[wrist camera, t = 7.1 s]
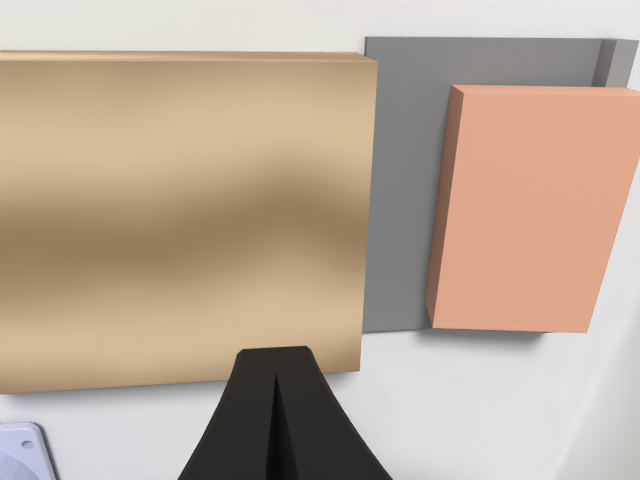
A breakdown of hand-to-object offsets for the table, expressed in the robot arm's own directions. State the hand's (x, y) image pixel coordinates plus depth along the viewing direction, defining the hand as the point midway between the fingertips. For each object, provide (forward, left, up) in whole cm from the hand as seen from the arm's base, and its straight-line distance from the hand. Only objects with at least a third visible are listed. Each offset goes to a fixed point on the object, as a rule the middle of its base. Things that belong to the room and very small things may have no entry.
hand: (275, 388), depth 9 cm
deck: (0, +4, -10) cm, 11 cm away
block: (0, -9, -8) cm, 12 cm away
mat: (0, -8, -10) cm, 13 cm away
